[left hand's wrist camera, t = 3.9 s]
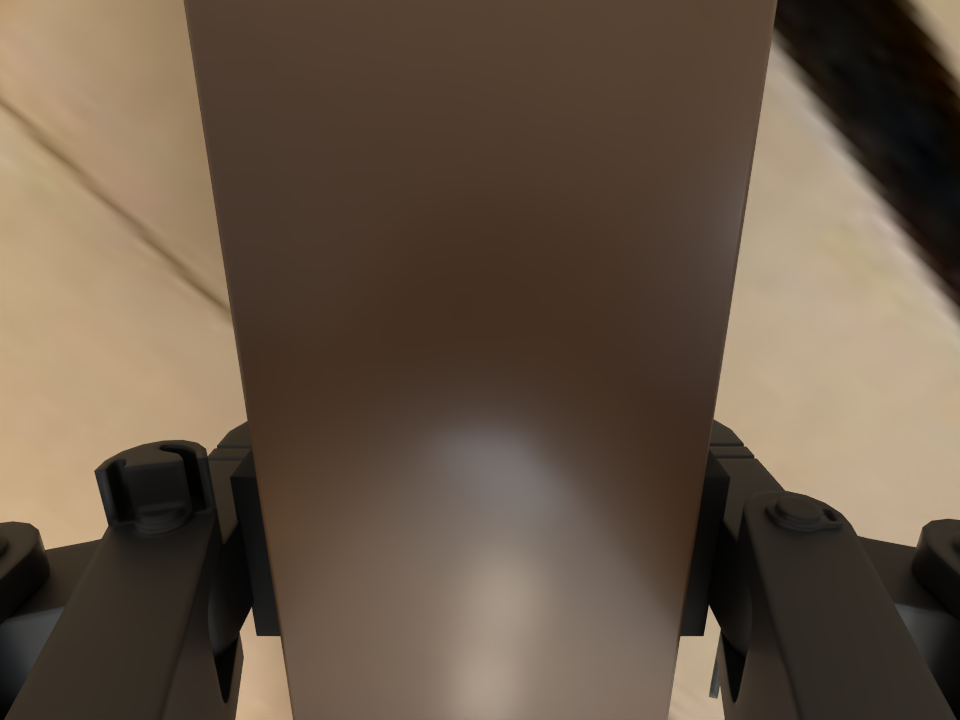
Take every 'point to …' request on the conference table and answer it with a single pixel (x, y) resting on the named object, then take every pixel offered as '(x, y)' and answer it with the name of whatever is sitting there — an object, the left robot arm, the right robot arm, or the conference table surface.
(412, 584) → the bar
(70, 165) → the conference table surface
